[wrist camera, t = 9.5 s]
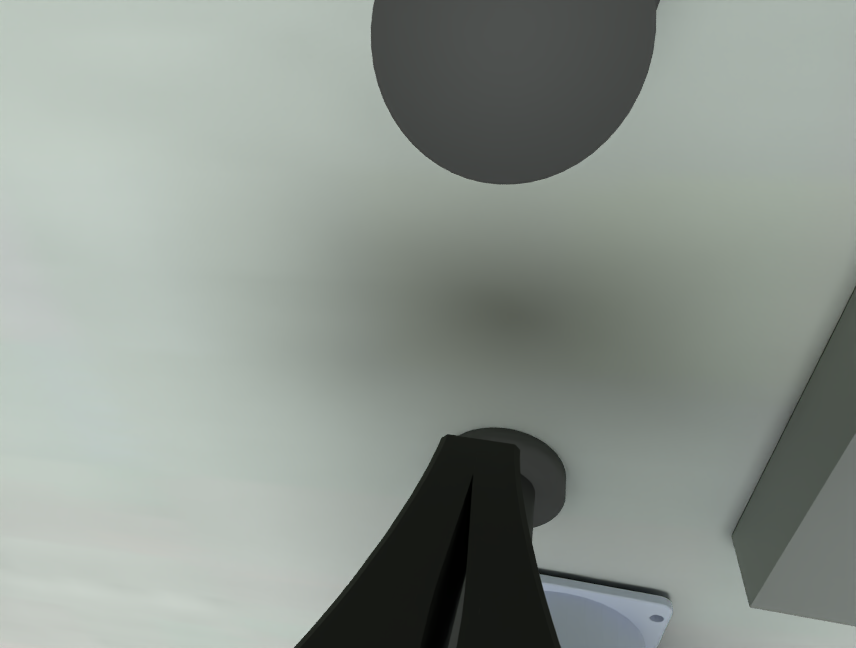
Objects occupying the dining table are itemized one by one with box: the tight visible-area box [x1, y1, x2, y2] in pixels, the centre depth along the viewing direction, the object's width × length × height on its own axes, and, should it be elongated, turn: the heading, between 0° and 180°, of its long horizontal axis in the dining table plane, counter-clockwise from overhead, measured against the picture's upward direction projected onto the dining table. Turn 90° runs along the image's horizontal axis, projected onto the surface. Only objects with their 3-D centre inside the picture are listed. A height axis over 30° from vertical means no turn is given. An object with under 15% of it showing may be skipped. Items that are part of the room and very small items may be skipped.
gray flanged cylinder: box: [448, 428, 566, 648], centre depth 17 cm, size 4×4×8 cm
